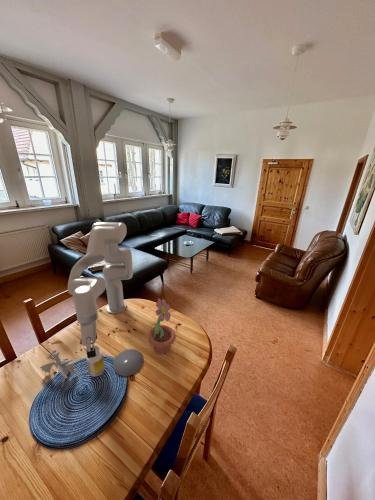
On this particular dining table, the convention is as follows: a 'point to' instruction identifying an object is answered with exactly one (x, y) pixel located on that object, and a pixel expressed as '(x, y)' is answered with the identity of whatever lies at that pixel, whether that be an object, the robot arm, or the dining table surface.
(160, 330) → the decorative flower
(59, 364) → the fairy figurine
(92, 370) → the supplement bottle
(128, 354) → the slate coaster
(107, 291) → the robot arm
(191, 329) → the dining table surface
